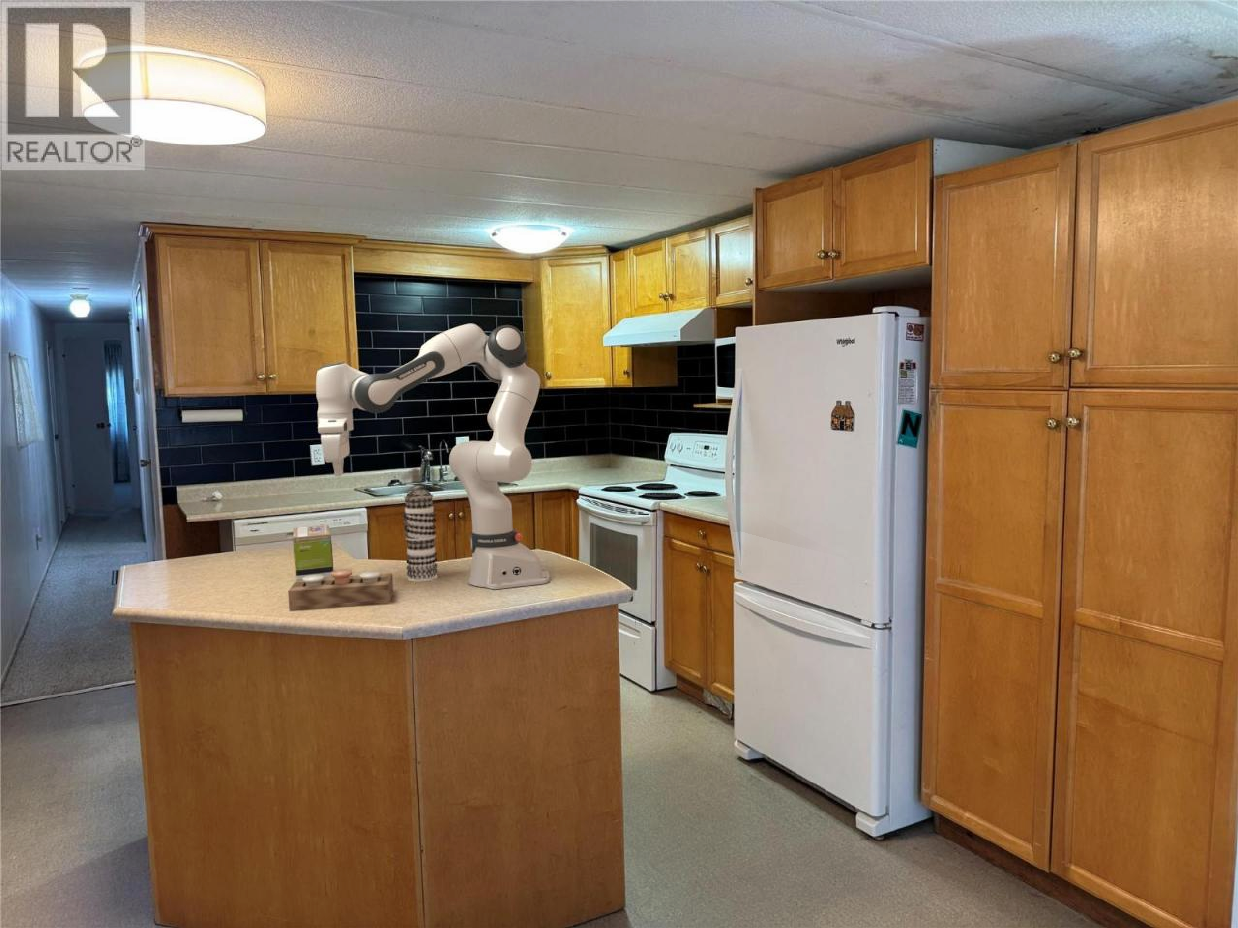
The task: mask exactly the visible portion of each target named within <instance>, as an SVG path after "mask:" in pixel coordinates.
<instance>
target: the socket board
mask: <svg viewBox="0 0 1238 928" xmlns="http://www.w3.org/2000/svg"><path fill="white" fill-rule="evenodd" d="M359 575H360V574H357V575H350V584H336V585H335V584H334V577H324V580H323V581H321V582H322V585H320V586H306V583H304V582H303V579H298V580H297V581H295V582H294V583H293V584H292V585H291V587H290V588H289V590H288V592H287V593H288V605H289V607H288V608H289V611H304V610H305V611H306V610H318V609H320V610H321V609H330V608H331V609H332V608H345V607H347V608H348V607H362V606H374V605H375V606H376V605H389V604H390V603H391V599H392V596H393V593H394V581H393V573H391V572H390V573H380V575H381V576H380V577H379V578H378V582H367V583H363V579H360V576H359Z"/></svg>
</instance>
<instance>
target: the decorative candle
mask: <svg viewBox="0 0 1238 928" xmlns="http://www.w3.org/2000/svg"><path fill="white" fill-rule="evenodd" d="M433 497H434V495H433V494H431V492H430V490H428V489H414V490H410V491H408V492H407V494H406V495H405V496H404V497H403V498H404V501H405V502H404V504H405V507H404V511H403V514H402V518H403V519H405V520H404V521H403V525H404V527H403V530H404V532H405V534H404V537H405V540H406V543H407V544H406V545H407V548H406V551H407V552H406V555H405V558H406V564H407V566H406V570H407V572H406V575H407V581H409V582H413V583H414V582H415V583H416V582H417V583H419V582H428V581H433V580H436V579H438V574H437V573H438V571H439V570H438V569H437V568H438V563H436V562H437V561H438V558H437V555H438V553H437V552H436V545H435V538H436V537H437V535H436V534H437V532H436V528H437V526H436V525H434V523H435V522H437V519H436V516H437V514H436V513H435V512H434V505H433V503H434V502H433Z"/></svg>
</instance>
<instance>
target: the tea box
mask: <svg viewBox="0 0 1238 928" xmlns="http://www.w3.org/2000/svg"><path fill="white" fill-rule="evenodd" d="M292 542H293V543H292V544H293V555H294V556H293V557H294V566H295V567H294V568H295V578H296V581H297V580H298V579H302V578H303V577H305V576H310V575H323V576H324V577H332V576H331V572H332V571H334V559H333V558H334V557H333V546H332V536H331V531H330V525H329V524H322V525H321V524H320V525H308V526H301V527H293V535H292ZM296 581H295V582H296Z"/></svg>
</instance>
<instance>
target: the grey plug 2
mask: <svg viewBox="0 0 1238 928" xmlns="http://www.w3.org/2000/svg"><path fill="white" fill-rule="evenodd" d="M380 574H381V572H380V571H376V570H375V571H365V572H362V573H359V574H358V575H359V576H360V579H363V583H367V582H378V578H379V577H380V576H381V575H380Z"/></svg>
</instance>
